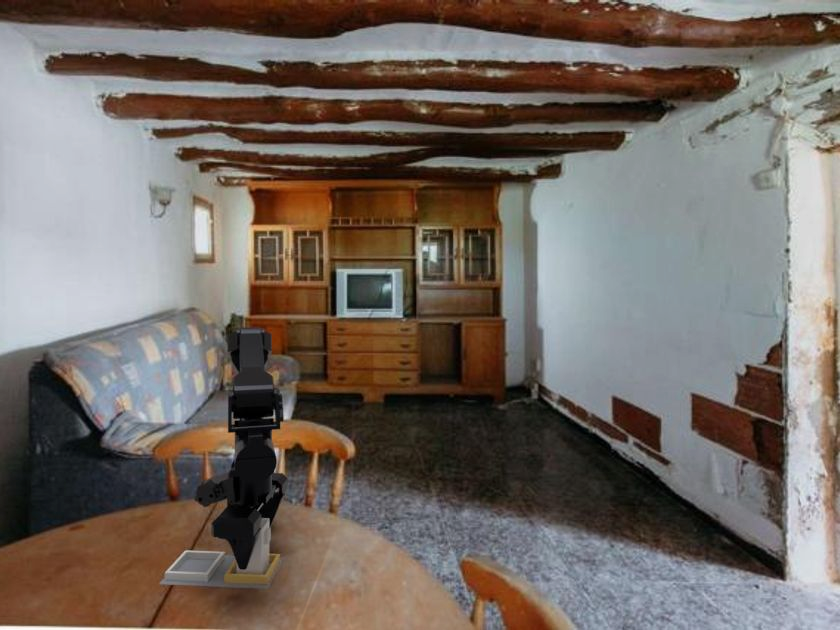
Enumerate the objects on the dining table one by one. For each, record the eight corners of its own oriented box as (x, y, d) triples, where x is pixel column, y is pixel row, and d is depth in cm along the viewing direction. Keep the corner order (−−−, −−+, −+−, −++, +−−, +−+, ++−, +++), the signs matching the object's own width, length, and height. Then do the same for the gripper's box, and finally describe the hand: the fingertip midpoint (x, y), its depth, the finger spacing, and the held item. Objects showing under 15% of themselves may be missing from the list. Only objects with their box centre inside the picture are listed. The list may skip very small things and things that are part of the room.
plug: (236, 577, 84) (236, 528, 83) (245, 564, 88) (245, 517, 87) (265, 578, 84) (265, 530, 83) (272, 565, 88) (273, 518, 87)
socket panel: (158, 587, 82) (158, 576, 81) (186, 557, 91) (186, 546, 90) (267, 592, 81) (267, 581, 81) (284, 560, 90) (284, 550, 90)
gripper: (226, 439, 94) (226, 524, 95) (175, 480, 75) (176, 584, 76) (288, 441, 94) (288, 526, 95) (252, 482, 75) (252, 588, 76)
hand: (253, 553), depth 85 cm, fingers open, 9 cm apart
